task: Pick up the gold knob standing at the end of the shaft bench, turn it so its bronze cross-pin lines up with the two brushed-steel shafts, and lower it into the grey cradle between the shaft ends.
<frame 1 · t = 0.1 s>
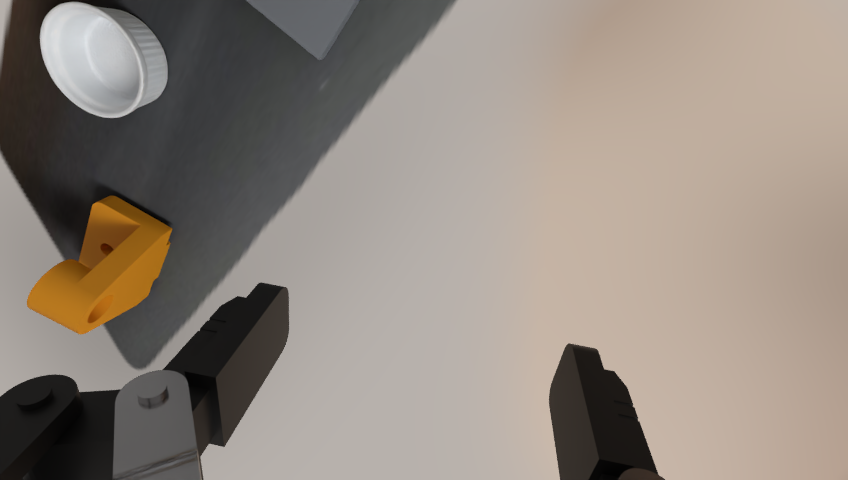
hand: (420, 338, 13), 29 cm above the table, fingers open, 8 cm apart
bracket: (135, 242, 50), on the table
ramekin: (130, 57, 40), on the table
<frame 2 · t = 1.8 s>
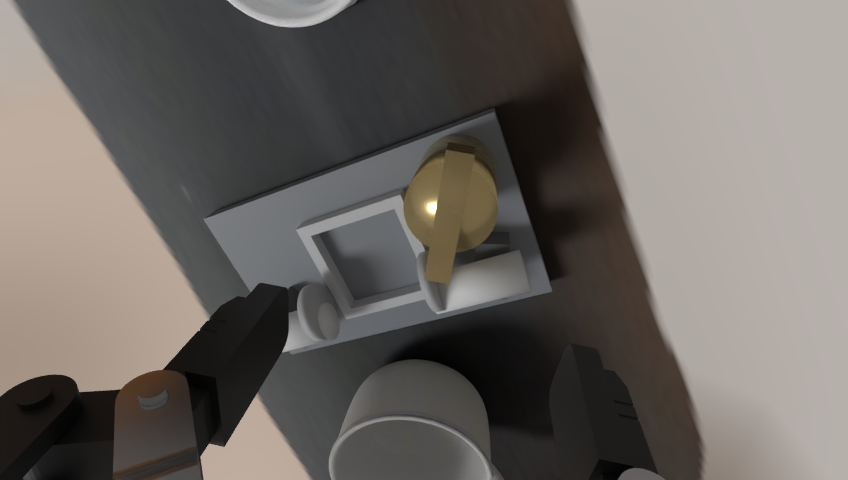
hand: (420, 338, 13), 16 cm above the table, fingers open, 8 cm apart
teacup: (438, 399, 36), on the table
shaft bench: (378, 246, 30), on the table
gold knob: (457, 172, 26), point 1 cm above the table, touching shaft bench
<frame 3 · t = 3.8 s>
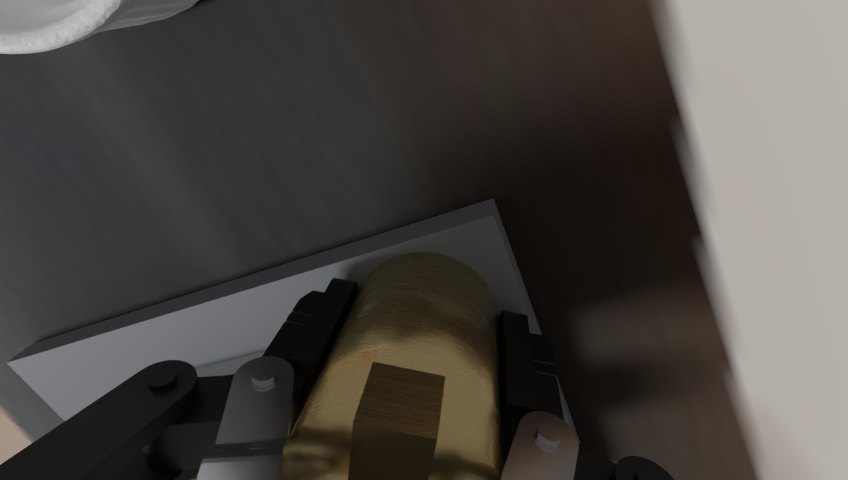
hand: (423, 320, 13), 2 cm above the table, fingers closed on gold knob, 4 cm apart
shaft bench: (303, 402, 18), on the table
gold knob: (426, 314, 14), point 1 cm above the table, touching gripper, shaft bench
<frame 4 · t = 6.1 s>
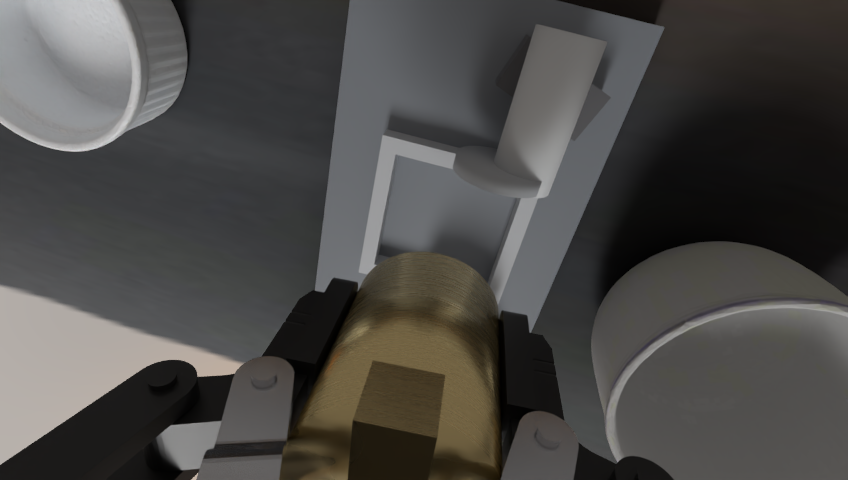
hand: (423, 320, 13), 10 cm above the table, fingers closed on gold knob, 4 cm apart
teacup: (713, 301, 23), on the table
shaft bench: (448, 209, 23), on the table
gold knob: (426, 314, 14), point 10 cm above the table, touching gripper
ramekin: (115, 34, 21), on the table
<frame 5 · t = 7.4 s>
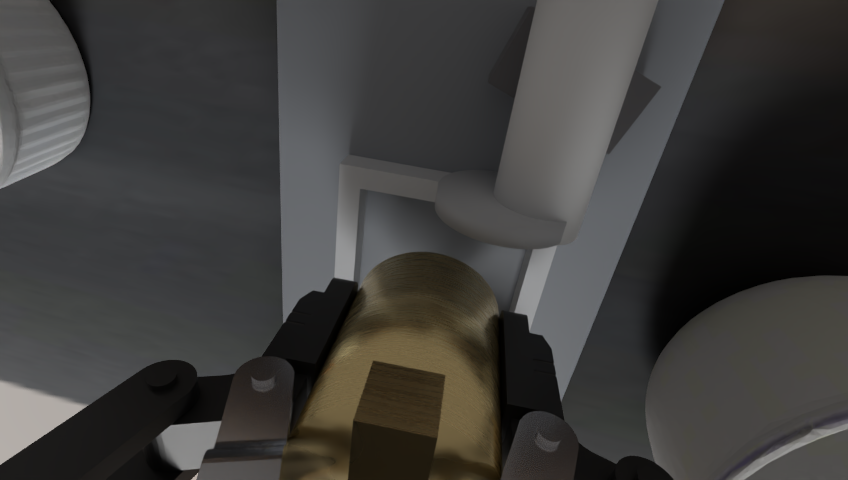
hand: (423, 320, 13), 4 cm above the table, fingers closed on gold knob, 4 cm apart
teacup: (806, 346, 17), on the table
shaft bench: (442, 250, 17), on the table
gold knob: (426, 314, 14), point 4 cm above the table, touching gripper
ramekin: (0, 59, 17), on the table
when the fingers open (3 cm above the table, at t = 8.6 s): gold knob drops 1 cm, resting on shaft bench.
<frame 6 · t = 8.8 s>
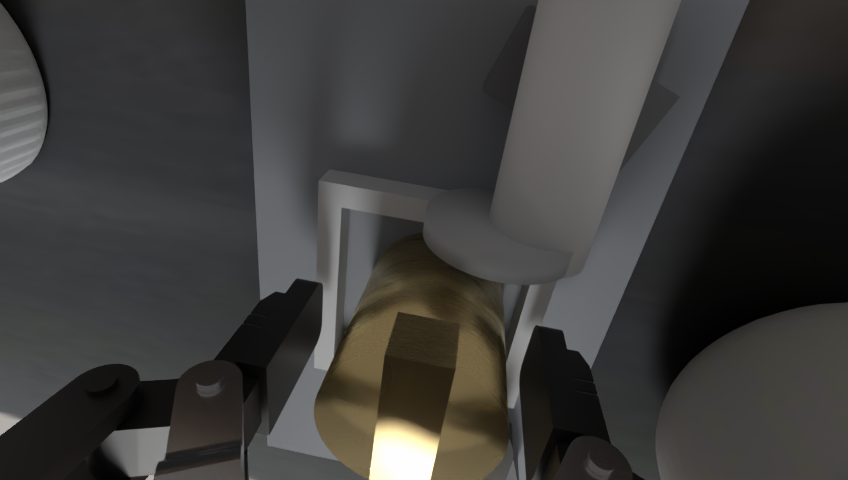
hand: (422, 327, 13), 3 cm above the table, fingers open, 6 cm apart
teacup: (828, 373, 16), on the table
shaft bench: (434, 270, 16), on the table
gold knob: (436, 290, 15), point 1 cm above the table, touching shaft bench
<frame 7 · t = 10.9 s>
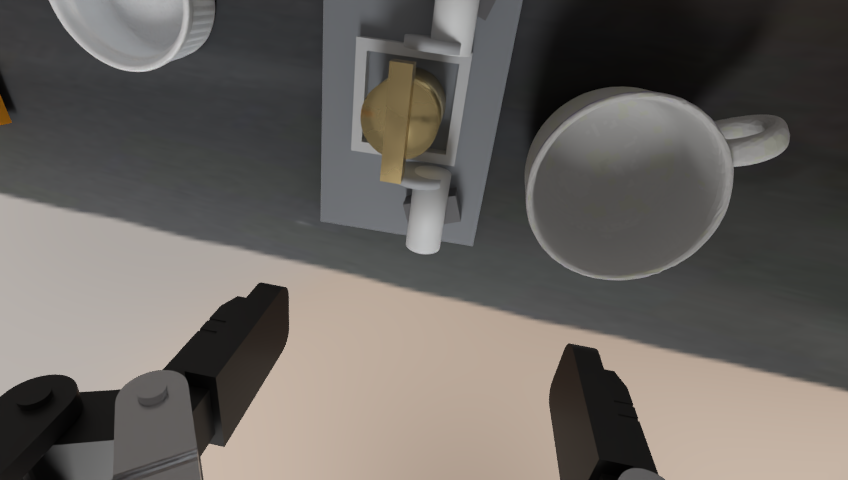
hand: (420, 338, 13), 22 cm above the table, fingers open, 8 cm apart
teacup: (617, 149, 31), on the table
shaft bench: (412, 98, 31), on the table
gold knob: (413, 102, 30), point 1 cm above the table, touching shaft bench
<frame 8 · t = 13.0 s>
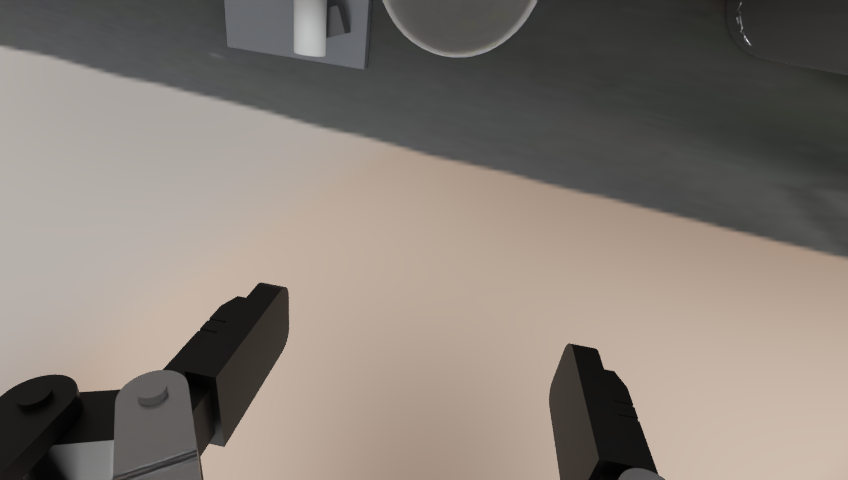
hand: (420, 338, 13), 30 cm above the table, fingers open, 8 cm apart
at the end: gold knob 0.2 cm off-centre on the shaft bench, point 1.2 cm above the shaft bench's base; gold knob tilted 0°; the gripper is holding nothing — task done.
